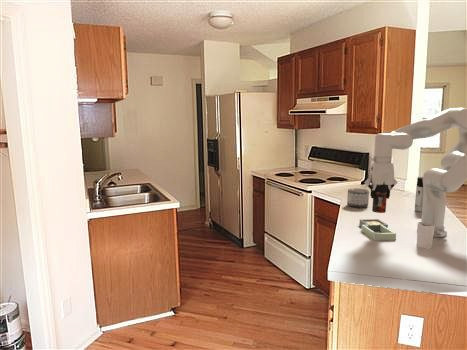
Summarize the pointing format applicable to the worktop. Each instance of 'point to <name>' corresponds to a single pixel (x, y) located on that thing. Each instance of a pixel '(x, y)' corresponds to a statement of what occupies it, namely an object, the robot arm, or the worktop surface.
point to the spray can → (419, 195)
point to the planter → (358, 197)
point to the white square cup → (425, 234)
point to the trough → (385, 234)
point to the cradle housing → (362, 222)
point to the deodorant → (380, 199)
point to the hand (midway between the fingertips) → (379, 197)
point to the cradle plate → (372, 222)
